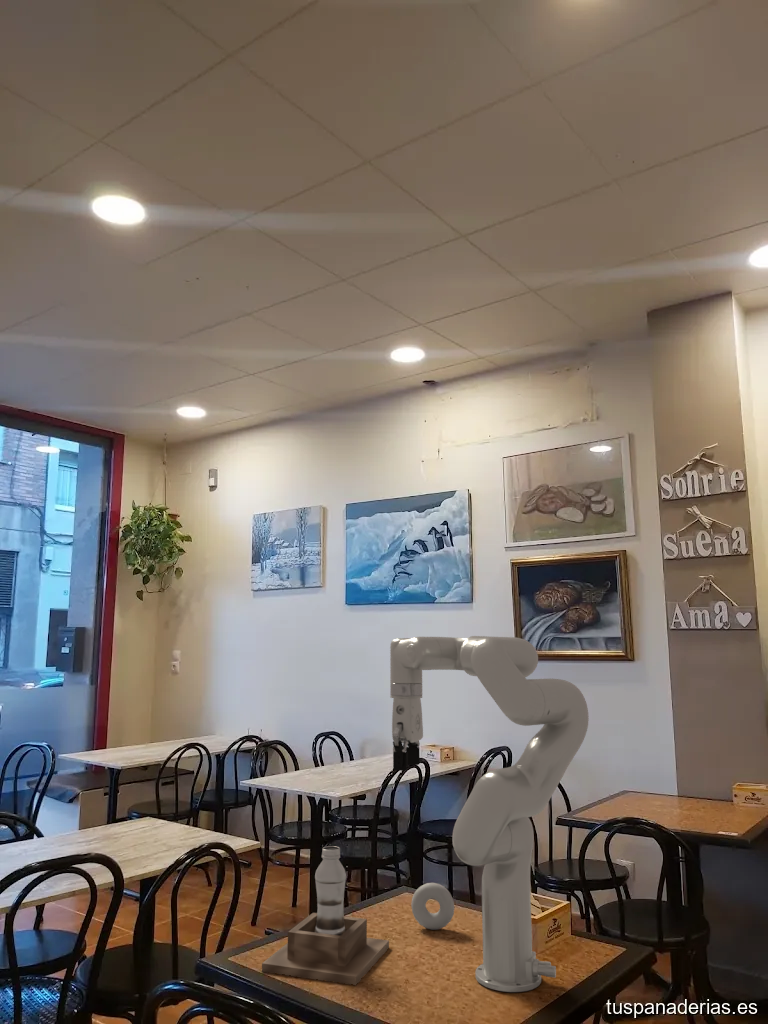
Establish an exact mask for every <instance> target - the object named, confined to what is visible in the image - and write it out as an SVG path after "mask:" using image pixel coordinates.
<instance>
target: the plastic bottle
mask: <svg viewBox="0 0 768 1024" xmlns="http://www.w3.org/2000/svg"><path fill="white" fill-rule="evenodd" d="M321 858H322V861H321V862H320V864H318V867H317V869H316V870H315V875H314V879H315V889H316V897H317V898H316V902H317V904H316V905H317V906H316V907H317V912H316V913H317V922H316V928H315V933H323V934H331V935H339V936H341V935H342V934H343V933H345V932H346V930H345V925H344V914H345V913H344V898H345V888H346V880H347V873H346V869H345V867H344V866H343V864H342V862H341V861H340V858H341V847H339V846H334V845H332V846H331V845H330V846H324V847H322V852H321Z"/></svg>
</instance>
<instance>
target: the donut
mask: <svg viewBox="0 0 768 1024" xmlns="http://www.w3.org/2000/svg"><path fill="white" fill-rule="evenodd" d="M431 899H432V900H435V901H437V902H438V904H439V910H438V911H437V912H430V911H428V908H427V907H426V906H427V902H428V901H429V900H431ZM410 906H411V913H412V915H413V917H414V919H415V920H416V921H417V922H418V924H419V925H420V926H422V927H423V928H425V929H426V930H427V929H428V930H432V931H434V930H436V931H437V930H441V929H443V928H444V927H445V928H446V926H447V925H448V924H449V923H450V922H451V920H452V919H453V916H454V915H455V901H454V898H453V897H452V894H451V892H450V891H449V890H448V889H447V888H446V887H445V886H444V885H442V884H440V883H436V882H427V883H424V884H423V885H420V886H419V887H418V888H417V889H416V890H415V891H414V893H413V895H412V899H411V905H410Z"/></svg>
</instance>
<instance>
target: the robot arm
mask: <svg viewBox="0 0 768 1024" xmlns="http://www.w3.org/2000/svg"><path fill="white" fill-rule="evenodd" d="M389 649H390V650H389V651H390V652H389V653H390V656H389V657H390V661H389V662H390V666H389V668H390V696H389V697H390V698H391V699H392V700H393V702H392V715H391V716H392V718H391V724H392V725H391V737H392V740H393V741H392V745H393V746H392V760H393V761H392V765H393V766H392V769H393V771H402V772H405V771H408V765H412V766H419V765H420V740H422V739H423V737H424V727H423V725H424V723H423V709H422V701H421V699H422V698H423V671H431V670H432V671H434V670H436V671H437V670H439V671H441V670H442V671H443V670H446V671H450V670H451V671H452V670H453V671H464V672H465V673H466V674H467V675H469V676H472V677H477V679H478V680H479V681H480V683H481V685H482V686H483V687H484V688H485V690H486V692H487V693H488V694H489V696H490V697H491V698H492V699H493V701H494V702H495V704H496V705H497V706H498V708H499V710H501V712H502V713H503V714H504V716H505V717H506V718H507V719H508V720H510V721H511V722H513V723H514V724H516V725H518V726H525V727H526V726H539V725H543V726H542V727H541V728H540V729H539V731H537V733H535V734H534V735H533V737H532V738H531V739H530V740H529V742H528V743H527V744H526V746H525V749H523V750H524V751H523V752H522V754H521V755H520V757H519V759H518V760H517V761H516V763H515V764H513V765H512V766H508V767H503V768H497V769H492V770H490V771H488V772H486V773H485V774H483V775H482V776H481V777H480V778H478V780H477V782H476V783H475V784H474V786H473V788H472V790H471V792H470V794H469V796H468V798H467V799H466V801H465V803H464V804H463V807H462V808H461V811H460V813H459V815H458V816H457V819H456V821H455V823H454V826H453V830H452V839H451V840H452V846H453V850H454V852H455V854H456V856H457V858H458V859H459V860H460V861H461V862H462V863H464V864H466V865H468V866H472V867H474V866H475V867H479V866H480V867H481V866H484V867H483V870H482V876H481V916H482V920H481V923H482V927H481V928H482V959H483V960H482V962H483V963H482V964H480V965H478V966H477V968H476V969H475V972H474V973H475V980H476V981H477V982H478V983H479V984H480V985H482V986H483V987H484V988H485V987H486V988H488V989H490V990H495V991H496V992H497V991H499V992H504V993H523V992H529V991H532V990H534V989H536V988H538V987H539V986H540V984H541V983H542V976H544V977H546V978H547V977H548V978H554V979H556V977H557V968H556V965H552V963H551V961H543V960H542V961H541V960H540V959H538V958H537V956H536V955H537V953H536V951H533V936H532V934H533V933H532V907H531V906H532V905H531V903H532V902H531V893H532V892H531V891H532V890H531V864H532V855H533V850H534V840H535V839H534V838H535V836H534V832H535V831H534V827H533V824H532V821H531V819H530V818H531V817H534V816H537V815H539V814H541V813H542V812H543V811H544V810H545V809H546V807H547V805H548V803H549V802H550V800H551V798H552V797H553V795H554V793H555V791H556V790H557V788H558V786H559V784H560V783H561V781H562V778H563V777H564V775H565V773H566V771H567V769H568V767H569V766H570V764H571V762H572V761H573V759H574V758H575V756H576V755H577V753H578V751H579V749H580V748H581V746H582V744H583V742H584V740H585V737H586V735H587V731H588V728H589V720H590V719H589V709H588V705H587V700H586V699H585V696H584V694H583V693H582V691H581V690H580V688H579V687H577V685H575V684H573V683H572V682H571V681H567V680H564V679H560V678H534V679H533V678H532V679H527V677H529V676H531V675H532V674H533V673H534V671H535V670H536V669H537V667H538V663H539V655H538V651H537V649H536V647H535V646H534V644H532V643H531V642H530V641H527V640H526V639H523V638H520V637H515V636H514V637H513V636H509V637H508V636H485V635H471V636H469V637H452V636H451V637H450V636H449V637H448V636H414V637H402V638H401V637H398V638H394V639H392V640H391V642H390V647H389Z"/></svg>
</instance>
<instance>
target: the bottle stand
mask: <svg viewBox="0 0 768 1024" xmlns="http://www.w3.org/2000/svg"><path fill="white" fill-rule="evenodd" d="M367 920H368V919H367V918H362V917H354V916H352V917H351V916H344V925H345V930H346V932H345V933H343V934H342V935H341V936H339V935H331V934H323V933H315V928H316V922H317V912H312V913H311V914H309V915H308V916H307V917H305V918H304V919H303V920H302V921H300V922H299V923H298V924H296V925H295V926H294V927H292V928H291V929H290V930H289V931H287V943H286V944H284V945H283V946H282V947H280V948H279V949H277V951H276V952H274V953H272V955H271V956H269V957H268V958H267V959H265V960H264V961H263V962H262V963H261V972H262V973H268V972H270V973H269V974H275V973H278V974H277V975H282V974H285V975H284V976H289V975H291V976H290V977H296V976H297V977H299V978H303V979H310V980H316V979H318V981H323V980H326V981H325V982H330V981H334V982H333V983H337V982H340V983H339V984H344V983H345V985H351V984H353V985H352V986H357V985H358V984H357V983H360V982H361V980H362V979H363V978H364V977H365V976H366V975H365V974H368V972H369V971H370V970H371V969H372V968H373V967H372V966H375V964H376V963H377V962H378V961H379V960H380V959H381V958H382V957H383V955H384V954H385V953H386V952H387V951H388V950H389V949H390V939H389V940H387V939H380V938H373V937H372V938H371V937H368V935H367V930H368V927H367V923H368V922H367ZM388 948H389V949H388ZM387 949H388V950H387ZM380 957H381V958H380ZM379 958H380V959H379ZM378 959H379V960H378ZM371 967H372V968H371ZM364 975H365V976H364ZM363 976H364V977H363ZM297 977H296V978H297ZM362 977H363V978H362ZM361 978H362V979H361ZM356 984H357V985H356Z"/></svg>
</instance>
